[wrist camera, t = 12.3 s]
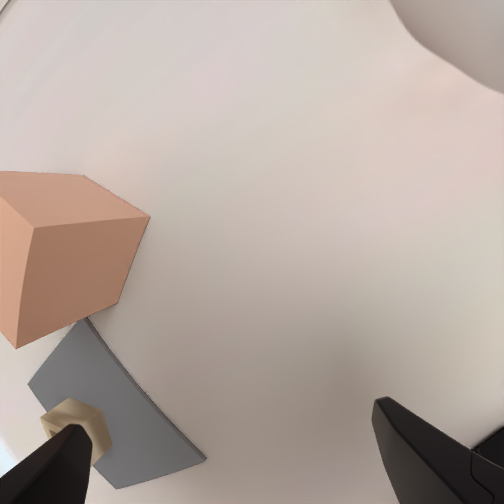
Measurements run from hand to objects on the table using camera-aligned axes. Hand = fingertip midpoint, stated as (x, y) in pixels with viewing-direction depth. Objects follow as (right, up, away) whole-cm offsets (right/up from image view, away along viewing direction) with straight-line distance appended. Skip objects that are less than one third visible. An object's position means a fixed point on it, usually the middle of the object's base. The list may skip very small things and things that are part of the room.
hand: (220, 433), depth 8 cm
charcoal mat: (-12, -9, +15) cm, 21 cm away
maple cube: (-13, -10, +15) cm, 22 cm away
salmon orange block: (-9, +6, +12) cm, 16 cm away
